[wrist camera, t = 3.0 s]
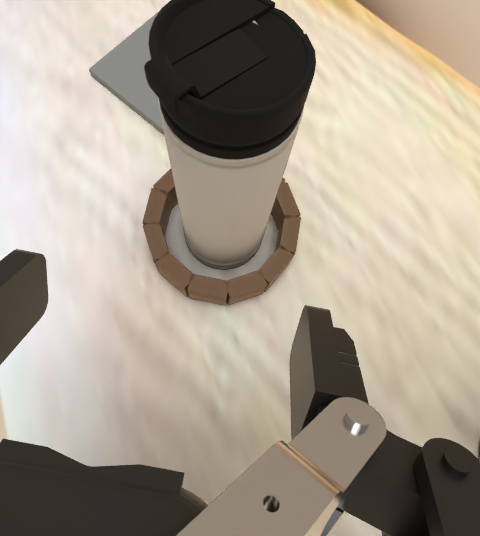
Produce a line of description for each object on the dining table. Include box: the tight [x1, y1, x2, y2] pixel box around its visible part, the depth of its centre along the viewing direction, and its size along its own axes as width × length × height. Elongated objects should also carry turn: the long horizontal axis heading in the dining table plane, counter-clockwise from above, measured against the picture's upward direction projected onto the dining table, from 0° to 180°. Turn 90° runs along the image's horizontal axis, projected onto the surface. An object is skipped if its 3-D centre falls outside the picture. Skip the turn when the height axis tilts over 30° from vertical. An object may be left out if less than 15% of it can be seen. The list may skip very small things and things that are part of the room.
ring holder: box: [143, 169, 301, 305], centre depth 32 cm, size 11×11×3 cm
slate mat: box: [89, 11, 165, 135], centre depth 37 cm, size 13×13×1 cm
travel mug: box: [144, 0, 316, 269], centre depth 24 cm, size 6×7×20 cm
